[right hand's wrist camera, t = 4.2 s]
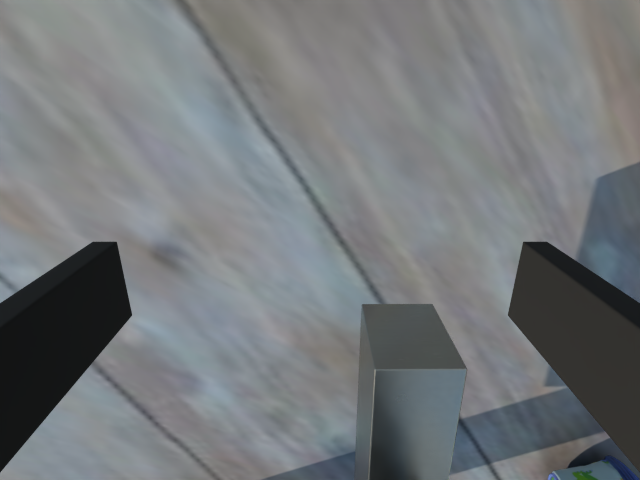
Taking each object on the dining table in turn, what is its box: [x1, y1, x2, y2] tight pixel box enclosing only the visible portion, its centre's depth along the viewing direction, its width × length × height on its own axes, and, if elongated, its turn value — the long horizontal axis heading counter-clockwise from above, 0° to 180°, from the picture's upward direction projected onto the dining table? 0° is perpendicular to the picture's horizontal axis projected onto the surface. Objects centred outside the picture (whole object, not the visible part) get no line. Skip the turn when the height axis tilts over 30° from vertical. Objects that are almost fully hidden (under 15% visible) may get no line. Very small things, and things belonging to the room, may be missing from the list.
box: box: [354, 304, 467, 480], centre depth 34 cm, size 26×6×8 cm, turn 0°
